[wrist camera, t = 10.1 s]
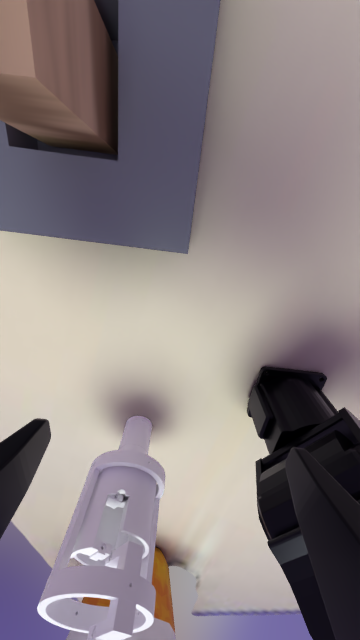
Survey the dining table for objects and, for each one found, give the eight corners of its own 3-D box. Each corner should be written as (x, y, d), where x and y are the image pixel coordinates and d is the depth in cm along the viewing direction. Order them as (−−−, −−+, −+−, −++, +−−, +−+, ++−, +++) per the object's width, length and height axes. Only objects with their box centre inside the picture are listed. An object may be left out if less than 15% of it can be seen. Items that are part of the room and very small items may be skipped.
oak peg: (119, 59, 13) (1, -218, 5) (119, 155, 15) (35, 77, 6) (39, 48, 13) (-227, -258, 4) (50, 146, 15) (-125, 55, 6)
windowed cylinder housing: (181, 423, 26) (176, 651, 12) (146, 453, 28) (108, 672, 15) (131, 392, 24) (60, 619, 11) (97, 427, 27) (4, 648, 13)
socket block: (225, -58, 11) (241, -168, 8) (187, 246, 18) (187, 253, 14) (-75, -107, 11) (-184, -243, 8) (-5, 222, 17) (-50, 224, 14)
